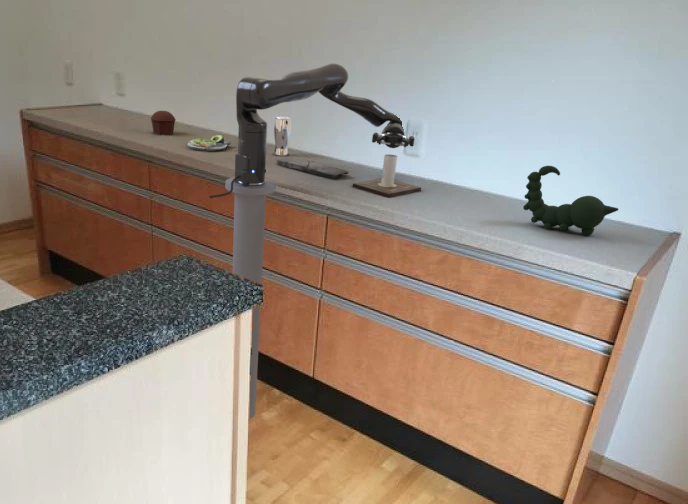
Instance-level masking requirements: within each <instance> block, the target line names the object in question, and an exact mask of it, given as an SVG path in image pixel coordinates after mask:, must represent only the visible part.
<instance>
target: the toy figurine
mask: <svg viewBox="0 0 688 504" xmlns="http://www.w3.org/2000/svg"><path fill="white" fill-rule="evenodd" d="M548 174H556V175H557V176H561V171H560V170H559V169H558V168H557V167H555V166H553V165H543V166H542V167H539V170H538V171H532V172H530V173H529V175H527V178H526V179H527V180H528V182H527V184H526V185H525V188H526V189H527V190H528V191H527V192H526V193H525V194H524V199H526V200H527V202H526V203H525V204H524V205H523V210H524V211H530V212H532V217H531V219H530V222H531V223H533V224H535V223H538V222H541V223H542V224H543V227H544V228H545V229H546V230H550V229H551V228H552V227H557V226H558V227H559V230H560V231H561V232H566V231H568V230H569V229H570V227H573V226H574V227H576V228H578V229H580V230H581V233H582V234H583V235H584V236H591V235H592V234H593V233H594V232H595V228H596V227H597V226H599V225H600V224H601V223H602V222H603V221H604V219H605V217H606V216H607V215H610V214H613V213H616V212H618V211H619V208H618V207H614V206H610V205H607V204H605V203H604V202H603V201H602V200H601V199H600V198H598V197H596V196H593V195H583V196H580V197H578V198H576V199H575V200H574V201H572V203H563V204H561V205H558V206H557V205H548V204H546V203H545V201H544V199H543V192H542V190H541V189H542V186H543V184H542V177H544V176H546V175H548Z"/></svg>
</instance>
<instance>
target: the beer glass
mask: <svg viewBox="0 0 688 504" xmlns="http://www.w3.org/2000/svg"><path fill="white" fill-rule="evenodd" d="M291 133H292V117H290V116H274V125H273V135H274V150H273V155H274V156H278V157H286V156H289V142H290V136H291Z"/></svg>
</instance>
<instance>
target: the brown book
mask: <svg viewBox="0 0 688 504" xmlns="http://www.w3.org/2000/svg"><path fill="white" fill-rule="evenodd" d="M381 179H382V177H381V178H376V179H370V180H363V181H359V182H353V183H352V187H353V188H356V189H359V190H362V191H366V192H369V193H372V194H376V195H379V196H382V197H386V198H392V197H396V196H397V197H398V196H402V195H406V194H411V193H416V192H421V191H422V187H421V186H418V185H414V184H411V183H407V182H404V181H400V180H396V179H394V185H393V186H384V185H381Z"/></svg>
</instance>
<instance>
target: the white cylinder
mask: <svg viewBox="0 0 688 504" xmlns="http://www.w3.org/2000/svg"><path fill="white" fill-rule="evenodd" d="M397 163H398V155H396V154H384V156H383V165H382V172H381V178H382V179H381V178H380V179H381V185H384V186H393V185H394V180H395V177H396V172H397V171H396V170H397Z"/></svg>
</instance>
